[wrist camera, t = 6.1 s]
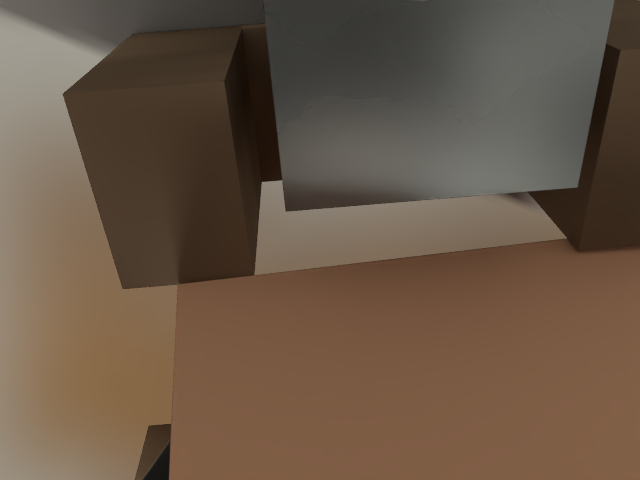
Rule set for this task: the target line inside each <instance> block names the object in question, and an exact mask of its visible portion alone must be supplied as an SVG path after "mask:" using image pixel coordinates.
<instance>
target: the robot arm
mask: <svg viewBox="0 0 640 480" xmlns="http://www.w3.org/2000/svg"><path fill="white" fill-rule="evenodd" d="M170 445H171V439H170V440H169V441H168V443H167V444H166V446H165V447H164V449H163V450H162V451H161V453H160V454H159V456H158V457H157V458H156V460H155V461H154V463H153V464H152V466H151V467H150V468H149V470H148V471H147V473H146V474H145V475H144V477H143V478H142V480H169V468H170Z"/></svg>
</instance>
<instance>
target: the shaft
mask: <svg viewBox="0 0 640 480" xmlns="http://www.w3.org/2000/svg"><path fill="white" fill-rule="evenodd" d="M613 5H614V0H263V6H264V15H265V24H266V34H267V43H268V52H269V61H270V71H271V80H272V89H273V98H274V107H275V117H276V126H277V135H278V144H279V154H280V163H281V172H282V181H283V191H284V200H285V208H286V211H298V210H309V209H322V208H334V207H346V206H358V205H370V204H381V203H395V202H407V201H418V200H431V199H443V198H454V197H468V196H480V195H492V194H504V193H516V192H528V191H540V190H552V189H564V188H577V187H578V182H579V177H580V172H581V167H582V162H583V157H584V152H585V147H586V142H587V137H588V131H589V126H590V121H591V116H592V111H593V106H594V101H595V96H596V91H597V86H598V81H599V76H600V71H601V66H602V61H603V56H604V51H605V46H606V41H607V36H608V30H609V25H610V20H611V15H612V10H613Z"/></svg>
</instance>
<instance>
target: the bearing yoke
mask: <svg viewBox="0 0 640 480" xmlns="http://www.w3.org/2000/svg"><path fill="white" fill-rule="evenodd" d="M63 96H64V99H65V103H66V106H67V109H68V113H69V116H70V119H71V122H72V126H73V128H74V132H75V135H76V138H77V142H78V145H79V148H80V152H81V155H82V158H83V161H84V164H85V168H86V171H87V174H88V178H89V181H90V184H91V187H92V191H93V194H94V197H95V200H96V203H97V207H98V210H99V213H100V217H101V220H102V223H103V226H104V230H105V233H106V236H107V239H108V242H109V246H110V249H111V252H112V255H113V259H114V262H115V265H116V269H117V272H118V275H119V278H120V281H121V285H122V288H123V289H129V288H141V287H152V286H165V285H176V284H186V283H194V282H203V281H211V280H220V279H228V278H237V277H245V276H254V271H255V260H256V247H257V234H258V220H259V209H260V196H261V183H262V182H266V181H278V180H282V172H281V163H280V154H279V144H278V135H277V126H276V117H275V107H274V98H273V89H272V80H271V71H270V61H269V52H268V43H267V34H266V24H254V25H241V26H228V27H215V28H202V29H189V30H176V31H163V32H150V33H137V34H132V35H131V36H130V37H129V38H127V39H126V40H125V41H124V42H123V43H122V44H120V45H119V46H118V47H117V48H116V49H115V50H113V51H112V52H111V53H110V54H109V55H108V56H106V57H105V58H104V59H103V60H102V61H101V62H100V63H98V64H97V65H96V66H95V67H94V68H92V69H91V70H90V71H89V72H88V73H87V74H85V75H84V76H83V77H82V78H81V79H80V80H78V81H77V82H76V83H75V84H74V85H73V86H71V87H70V88H69V89H68V90H67V91H66V92H64V93H63ZM528 193H529V194H530V195H531V196H532V197H533V198H534V200H535V201H536V202H537V203H538V204H539V205H540V207H541V208H542V209H543V210H544V211H545V212H546V214H547V215H548V216H549V217H550V218H551V219H552V221H553V222H554V223H555V224H556V225H557V227H558V228H559V229H560V230H561V231H562V232H563V233H564V235H565V236H566V237H567V238H568V239H569V241H570V242H571V243H572V244H573V245H574V246H575V248H576V249H577V250H578V251H580V250H592V249H604V248H616V247H628V246H640V1H639V0H614V5H613V10H612V15H611V20H610V25H609V30H608V36H607V41H606V46H605V51H604V56H603V61H602V66H601V71H600V76H599V81H598V86H597V91H596V96H595V101H594V106H593V111H592V116H591V121H590V126H589V131H588V137H587V142H586V147H585V152H584V157H583V162H582V167H581V172H580V177H579V182H578V187H577V188H564V189H552V190H540V191H528Z"/></svg>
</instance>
